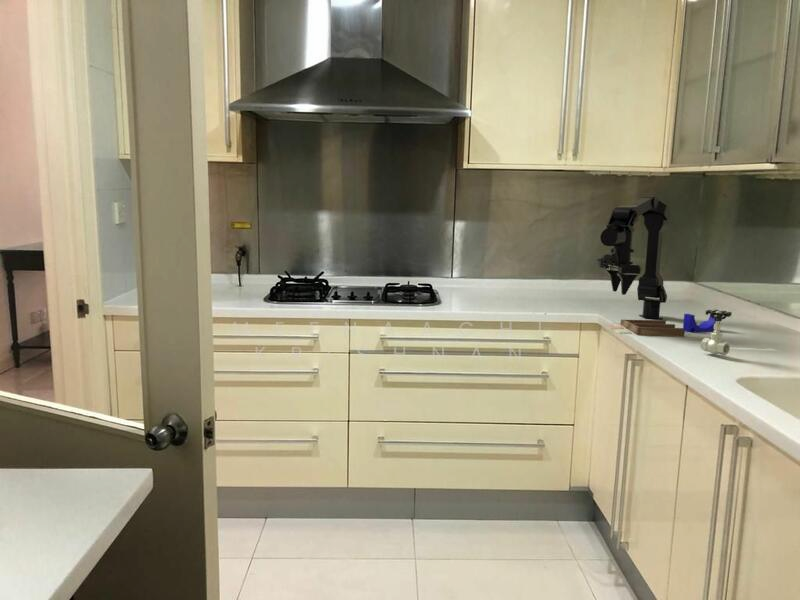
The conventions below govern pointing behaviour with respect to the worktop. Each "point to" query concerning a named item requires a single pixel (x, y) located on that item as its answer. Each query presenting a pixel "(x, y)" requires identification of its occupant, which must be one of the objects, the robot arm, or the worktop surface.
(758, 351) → the worktop surface
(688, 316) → the cable clip
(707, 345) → the valve
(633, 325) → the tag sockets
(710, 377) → the worktop surface
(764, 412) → the worktop surface
